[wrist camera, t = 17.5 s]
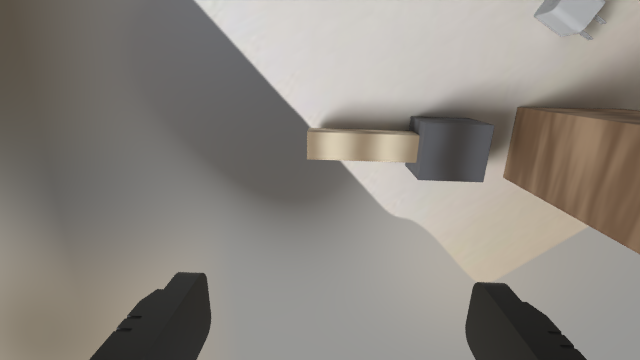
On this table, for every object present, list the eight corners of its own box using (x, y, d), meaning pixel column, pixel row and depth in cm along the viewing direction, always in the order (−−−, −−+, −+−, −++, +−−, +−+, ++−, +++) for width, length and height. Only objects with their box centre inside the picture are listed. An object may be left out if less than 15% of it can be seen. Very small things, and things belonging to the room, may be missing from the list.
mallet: (309, 161, 45) (305, 176, 39) (310, 113, 43) (306, 119, 37) (460, 167, 45) (483, 182, 38) (468, 118, 43) (494, 125, 36)
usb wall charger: (554, -14, 38) (579, -25, 34) (596, 18, 39) (625, 12, 35) (531, 17, 39) (553, 11, 35) (572, 48, 40) (598, 45, 36)
